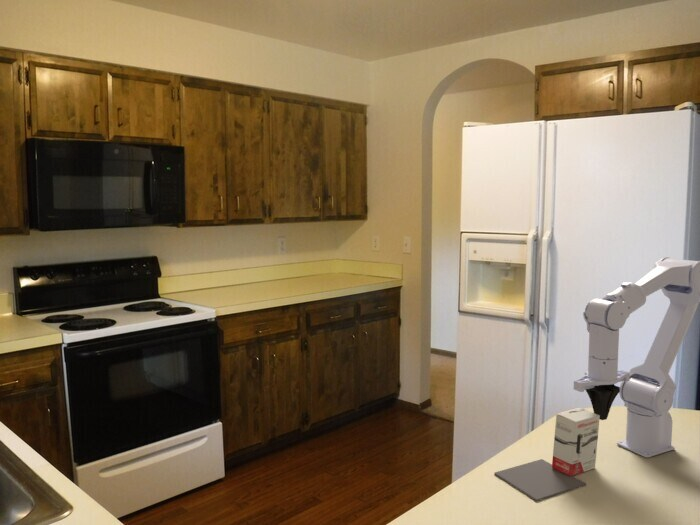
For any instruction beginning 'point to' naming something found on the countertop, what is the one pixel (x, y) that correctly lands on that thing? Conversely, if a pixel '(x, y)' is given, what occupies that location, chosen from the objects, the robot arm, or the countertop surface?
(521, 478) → the mat
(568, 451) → the ink box
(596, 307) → the robot arm
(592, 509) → the countertop surface
